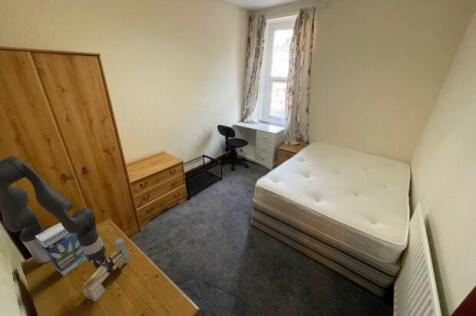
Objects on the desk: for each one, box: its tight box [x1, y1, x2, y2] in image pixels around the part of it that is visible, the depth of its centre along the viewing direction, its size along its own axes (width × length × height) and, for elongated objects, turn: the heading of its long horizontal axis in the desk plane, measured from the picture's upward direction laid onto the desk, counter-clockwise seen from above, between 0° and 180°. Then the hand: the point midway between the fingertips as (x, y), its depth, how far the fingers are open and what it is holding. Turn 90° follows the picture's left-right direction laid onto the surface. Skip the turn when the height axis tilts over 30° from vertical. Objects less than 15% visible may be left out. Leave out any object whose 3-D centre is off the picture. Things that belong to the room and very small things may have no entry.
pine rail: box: [82, 251, 123, 292], centre depth 98 cm, size 4×18×4 cm, turn 162°
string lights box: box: [35, 222, 88, 277], centre depth 103 cm, size 13×8×26 cm, turn 152°
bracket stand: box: [82, 237, 131, 302], centre depth 98 cm, size 7×22×16 cm, turn 161°
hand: (104, 269), depth 97 cm, fingers open, 8 cm apart
